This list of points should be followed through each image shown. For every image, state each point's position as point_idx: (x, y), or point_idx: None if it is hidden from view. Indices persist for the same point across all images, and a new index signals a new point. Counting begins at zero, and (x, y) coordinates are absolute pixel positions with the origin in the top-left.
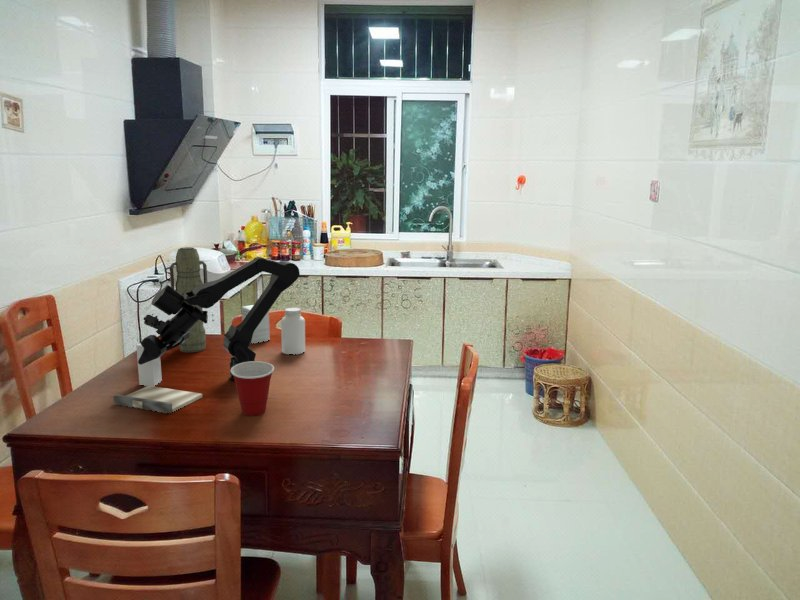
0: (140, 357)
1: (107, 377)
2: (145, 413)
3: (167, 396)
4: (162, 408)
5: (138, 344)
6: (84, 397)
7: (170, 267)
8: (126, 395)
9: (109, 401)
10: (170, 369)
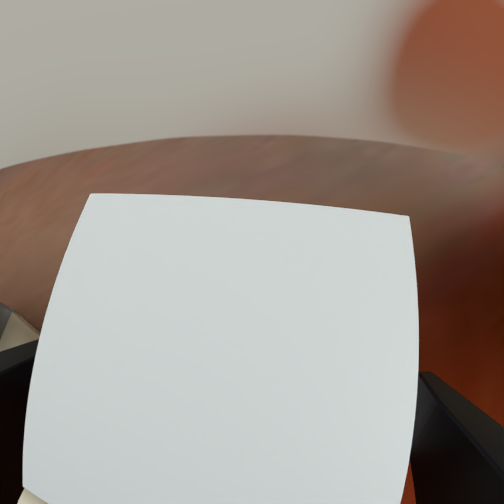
0: (15, 349)
1: (333, 158)
2: None
3: (29, 500)
4: None
5: (130, 206)
6: (101, 183)
7: None
8: (39, 336)
9: (41, 282)
10: (485, 385)
